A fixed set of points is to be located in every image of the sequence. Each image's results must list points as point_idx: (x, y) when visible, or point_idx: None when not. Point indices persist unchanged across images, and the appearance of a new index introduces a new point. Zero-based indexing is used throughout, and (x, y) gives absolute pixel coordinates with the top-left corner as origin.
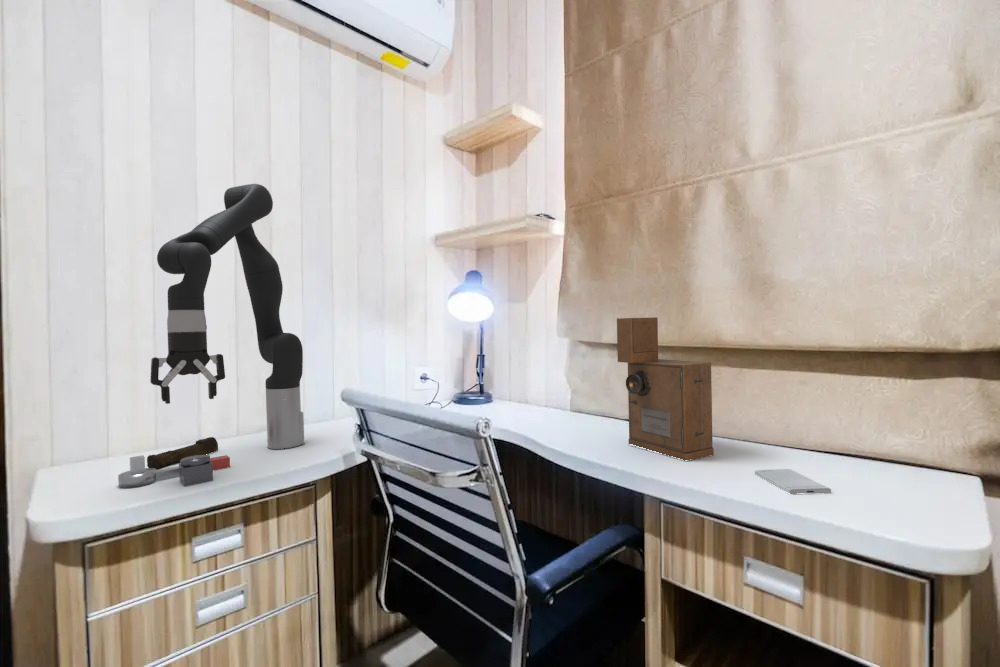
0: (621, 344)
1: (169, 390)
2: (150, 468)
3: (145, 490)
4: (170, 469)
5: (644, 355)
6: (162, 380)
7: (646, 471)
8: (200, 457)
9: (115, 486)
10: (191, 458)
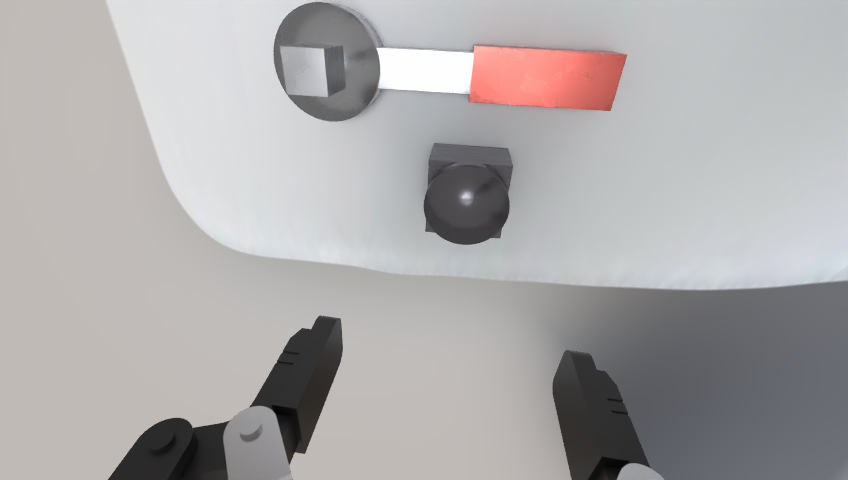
0: None
1: (313, 428)
2: (363, 35)
3: (352, 164)
4: (419, 82)
5: None
6: (228, 465)
7: None
8: (479, 212)
9: None
10: (456, 202)
